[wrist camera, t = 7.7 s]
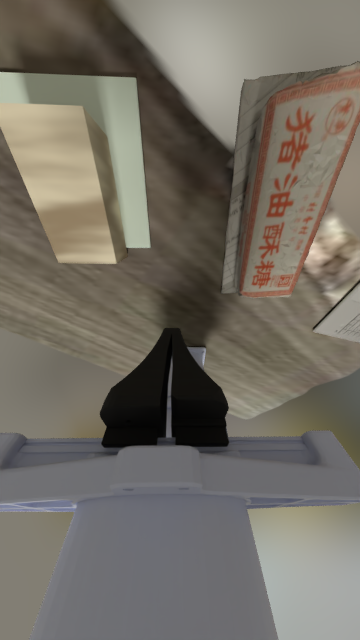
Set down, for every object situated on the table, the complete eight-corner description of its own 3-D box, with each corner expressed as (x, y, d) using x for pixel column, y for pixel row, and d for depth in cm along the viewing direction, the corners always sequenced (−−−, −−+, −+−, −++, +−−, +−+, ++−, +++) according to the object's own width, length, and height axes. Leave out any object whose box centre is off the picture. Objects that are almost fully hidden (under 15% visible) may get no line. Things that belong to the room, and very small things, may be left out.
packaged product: (309, 300, 18) (228, 305, 18) (285, 286, 22) (219, 291, 22) (456, -2, 8) (268, 20, 8) (360, 75, 12) (238, 88, 12)
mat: (150, 247, 18) (150, 248, 18) (54, 245, 18) (52, 246, 18) (136, 80, 11) (135, 77, 11) (-18, 74, 11) (-22, 71, 11)
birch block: (116, 263, 15) (82, 105, 10) (58, 262, 15) (-11, 102, 9) (127, 256, 18) (107, 136, 13) (80, 255, 18) (39, 134, 13)
